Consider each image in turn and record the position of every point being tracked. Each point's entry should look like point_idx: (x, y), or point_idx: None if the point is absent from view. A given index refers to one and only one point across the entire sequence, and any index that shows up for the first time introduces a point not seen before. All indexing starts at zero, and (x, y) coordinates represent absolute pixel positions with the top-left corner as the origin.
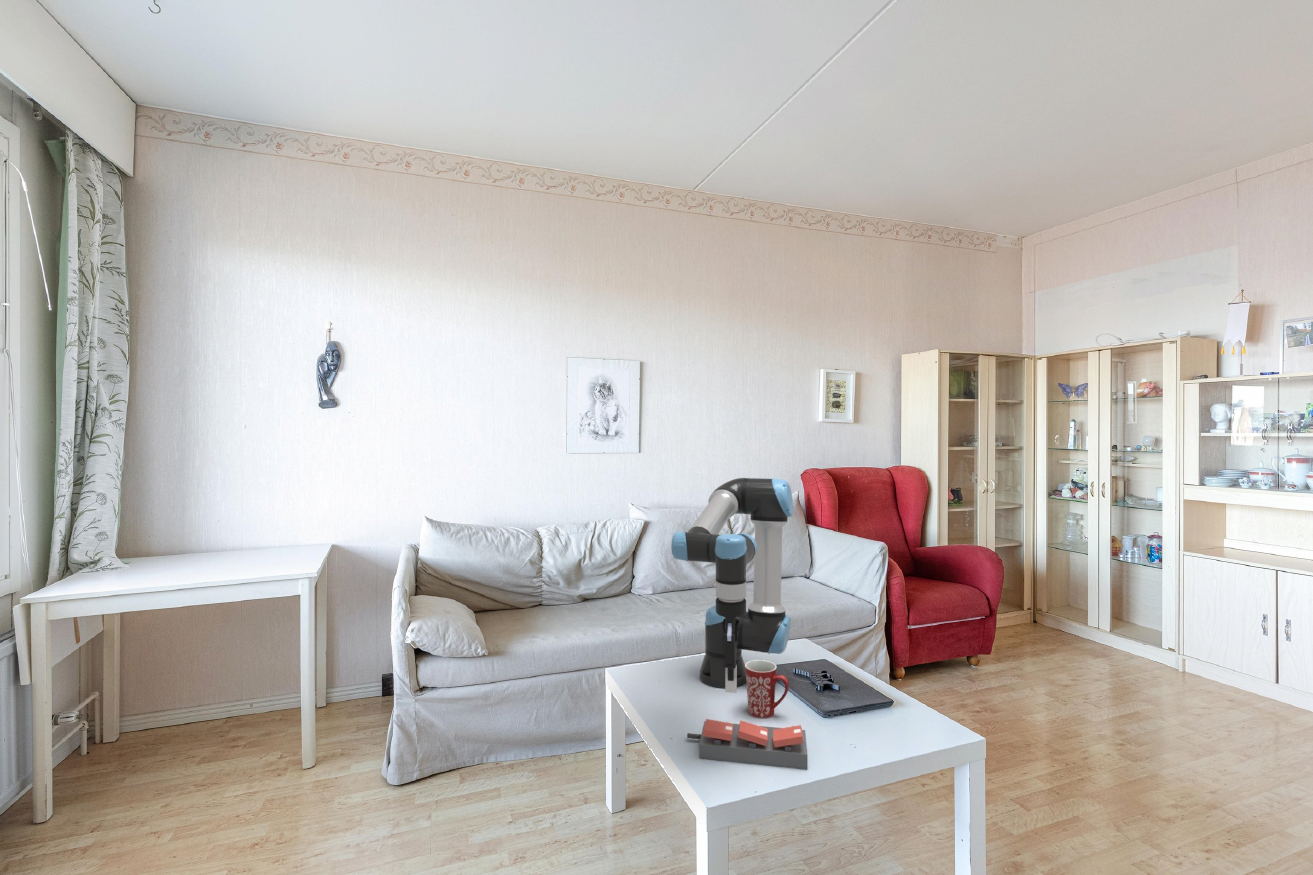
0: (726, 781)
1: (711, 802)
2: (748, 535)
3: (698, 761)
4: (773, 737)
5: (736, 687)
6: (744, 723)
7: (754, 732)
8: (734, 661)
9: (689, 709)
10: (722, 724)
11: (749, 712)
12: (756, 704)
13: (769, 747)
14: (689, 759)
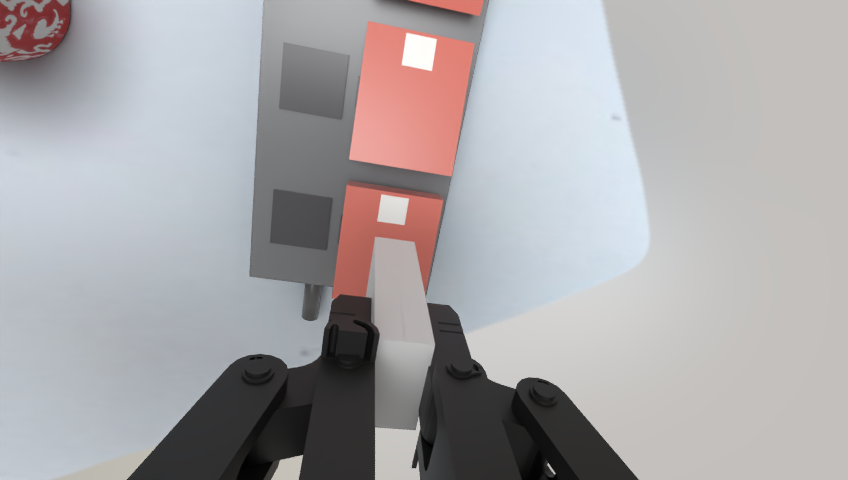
0: (553, 202)
1: (644, 249)
2: None
3: (440, 277)
4: (447, 6)
5: (398, 251)
6: (371, 141)
7: (433, 100)
8: (610, 451)
9: (76, 301)
10: (364, 233)
11: (38, 56)
12: (28, 23)
13: (452, 32)
14: (428, 302)
